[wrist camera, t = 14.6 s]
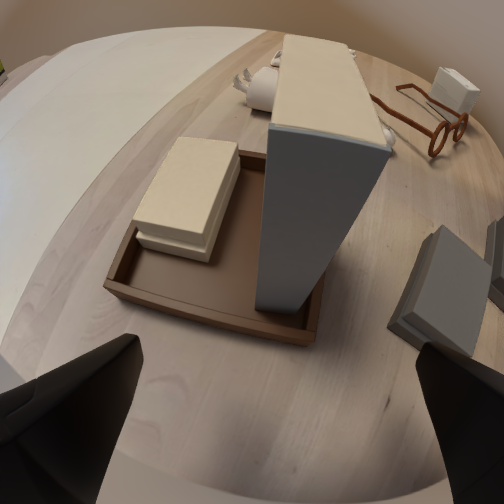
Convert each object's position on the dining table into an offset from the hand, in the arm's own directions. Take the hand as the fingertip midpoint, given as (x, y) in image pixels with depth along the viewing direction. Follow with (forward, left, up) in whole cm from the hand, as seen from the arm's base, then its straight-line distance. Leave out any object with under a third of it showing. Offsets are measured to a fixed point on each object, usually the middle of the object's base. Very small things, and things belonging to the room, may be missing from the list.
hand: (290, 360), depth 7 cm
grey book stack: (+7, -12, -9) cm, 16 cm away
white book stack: (+10, +8, -8) cm, 15 cm away
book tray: (+9, +5, -9) cm, 13 cm away
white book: (+7, +1, -8) cm, 11 cm away
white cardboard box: (+40, -22, -9) cm, 46 cm away
